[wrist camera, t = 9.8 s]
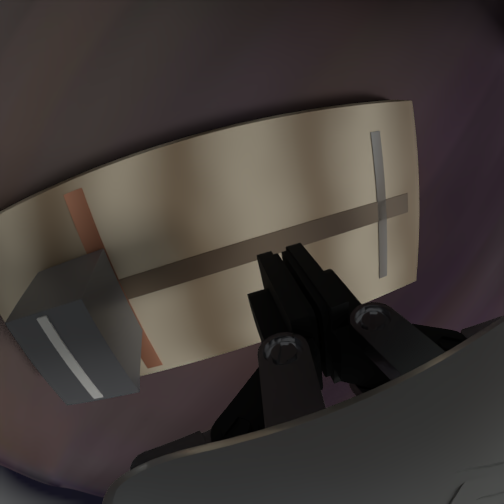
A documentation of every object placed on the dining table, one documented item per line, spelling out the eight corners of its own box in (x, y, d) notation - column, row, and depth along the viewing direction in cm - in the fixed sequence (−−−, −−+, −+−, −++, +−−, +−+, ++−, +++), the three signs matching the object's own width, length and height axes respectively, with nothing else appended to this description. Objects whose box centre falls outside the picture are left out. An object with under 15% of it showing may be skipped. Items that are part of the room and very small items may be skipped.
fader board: (390, 99, 16) (412, 100, 14) (399, 267, 21) (416, 280, 19) (-23, 224, 13) (-40, 236, 11) (62, 373, 18) (56, 393, 16)
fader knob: (103, 248, 13) (81, 300, 9) (142, 330, 16) (139, 393, 12) (38, 271, 13) (4, 324, 9) (81, 346, 15) (66, 406, 11)
